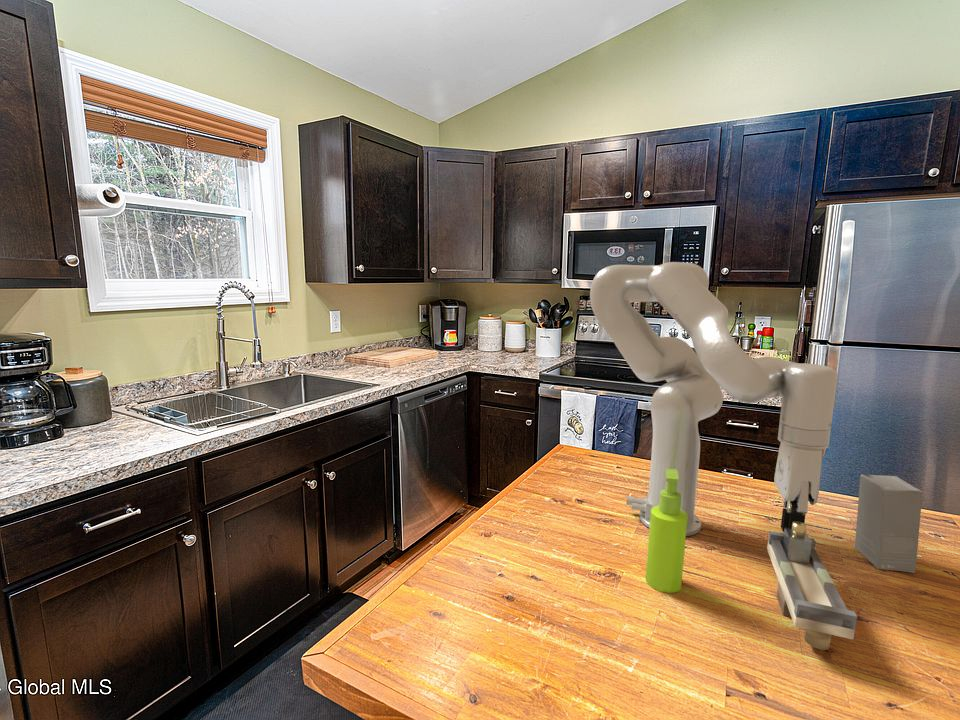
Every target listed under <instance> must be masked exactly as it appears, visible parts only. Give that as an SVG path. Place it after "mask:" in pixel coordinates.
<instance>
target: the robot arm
mask: <svg viewBox="0 0 960 720" xmlns="http://www.w3.org/2000/svg"><path fill="white" fill-rule="evenodd" d="M709 284H710V280H709V276H708V274H707V272H706V270H705V269H704V268H702V267H701V266H700V265H698V264H696V263H693V262H681V261H670V262H664V263H661V264H658V265H656V264H655V265H644V264H643V265H638V264H635V265H633V264H612V265H608V266H606V267H604V268H602V269H600V270H599V271H598V272H597V273H596V274H595V276H594V277H593V280H592V282H591V284H590V292H589V299H590V300H589V301H590V306H591V309H592V312H593V315H594V316H595V318H596V319H597V321H598V322H599V324H600V326H602V328H603V330H605V332H606V333H607V335H609V337H610V339H611V341H613V343H614V345H615V347H616V348H617V350H618V351H619V353H620V354H621V356H622V357H623V359H624V360H625V362H626V363H627V365H628V366H629V367H630V369H631V371H632V373H633V374H635V376H636V377H637V378H638V379H639V380H640V381H643V382H645V383H655V382H661V381H665V382H666V383H663V384H662V385H661V386H659V387H658V388H656V390H655V392H654V393H653V394H652V397H651V402H650V414H651V424H652V440H651V441H652V442H651V459H650V468H649V469H650V470H649V482H648V483H649V485H648V493H647V494H646V497H644V496H642V497H641V498H639V497H636V496H629V495H627V496H626V505H627V506H630V507H631V510H635V511H639V520H640V521H641V523H642V524H643V525H644V526H646V527H647V528H649V529H650V517H651V509H652V508H653V507H654V506H658V505H659V501H660V492H661V491H662V490H664V489H666V468H668V469H676V470H678V478H679V481H678V483H677V490H676V491H677V492H679V493H680V494H681V506H680V509H681V510H683V511H684V512H685V513H686V514H687V516H688V518H687V529H686V537H688V536H690V537H691V536H693V535H696V534H697V533H699V532H700V531H701V529H702V522H701V519H700V518H699V516H697V515H696V513H695V511H696V510H695V508H696V500H697V487H698V476H699V465H700V454H701V438H700V437H701V436H700V433H699V426H698V425H699V422H700V421H702V420H705V419H708V418H711V417H712V416H715V414H717V413H718V412H719V411H720V409H721V407H722V406H723V401H724V395H723V392H722V390H723V391H724V392H726V394H728V395H729V396H730V397H731V398H733V399H735V400H736V401H738V402H740V403H744V404H756V403H760V402H762V401H765V400H768V399H774V398H782V399H781V407H780V415H779V422H778V423H779V425H778V434H777V440H778V441H779V442H780V443H779V449H778V454H777V460H776V466H775V471H774V479H773V480H774V481H773V482H774V485H775V487H776V489H777V491H778V492H779V495H780V496H781V497H782V499H783V508H782V513H781V521H780V529H781V530H782V533H784V530H785V528H790V529H792V523H793V521H799V522H802V523H804V524H806V523H805V522H806V515H807V514H808V510H809V509H808V508H809V505H811V506H814V505H816V504H818V503H817V502H818V499H819V493H820V486H821V485H820V484H821V475H822V474H821V473H822V462H823V460H822V459H823V450H826V449H829V444H830V437H831V429H832V422H833V416H834V415H833V414H834V408H835V407H834V406H835V398H836V393H837V385H838V373H837V371H836V370H835V369H834V368H833V367H830V366H827V365H823V364H817V363H798V362H794V361H790V360H786V359H782V358H779V357H774V356H773V357H772V356H763V357H759V358H758V357H757V358H756V357H755V358H752V357H750V356H749V355H748V354H747V353H746V351H745V350H744V349H742V348H741V346H740V345H739V344H738V343H737V341H736V340H735V339H734V338H733V336H732V334H731V333H730V331H729V329H728V317H729V310H728V308H727V307H726V306H725V304H723V302H721V301H720V300H719V299H718V298H717V296H715V295H714V294H713V293H712V292H711V291H710V290H709ZM646 302H647V303H650V302H653V303H659V305H660V306H661V307H662V308H664V310H665V311H666V312H667V313H668V314H669V315H670V316H671V317H672V318H673V320H675V322H677V324H678V325H679V326H680V327H681V329H683V330H684V332H686V333H687V335H688V336H689V337H690V339H691V342H692V346H693V348H694V349H693V348H692V347H691V346H690V345H689V344H688V342H686V341H684V340H682V339H681V338H680V337H679V338H678V337H674V336H662V337H661V336H659V335H658V334H657V333H656V331H655V330H654V329H653V328H652V326H650V324H649V322H648V321H647V319H646V318H645V317H644V316H643V315H642V314H641V313H640V312H639V311H638V310H636V309H635V307H633V306H632V305H631V303H646Z"/></svg>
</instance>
